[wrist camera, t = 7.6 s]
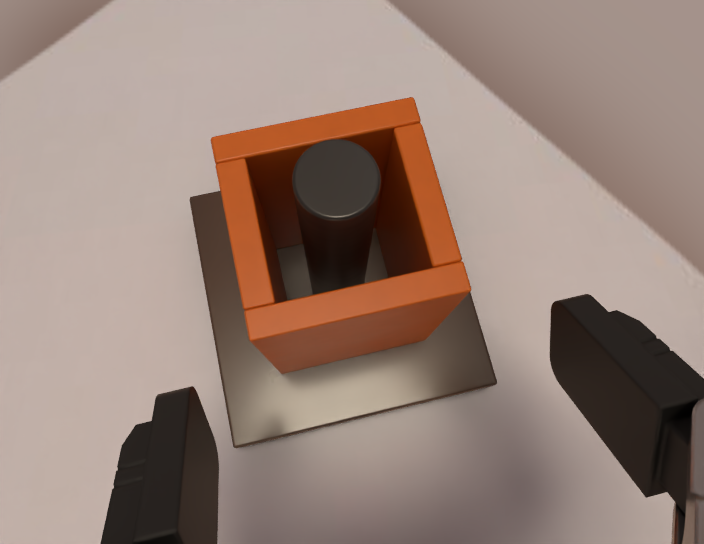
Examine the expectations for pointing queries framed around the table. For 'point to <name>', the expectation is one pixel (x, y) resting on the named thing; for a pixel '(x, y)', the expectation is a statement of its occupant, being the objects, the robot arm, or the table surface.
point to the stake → (317, 277)
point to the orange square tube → (390, 222)
